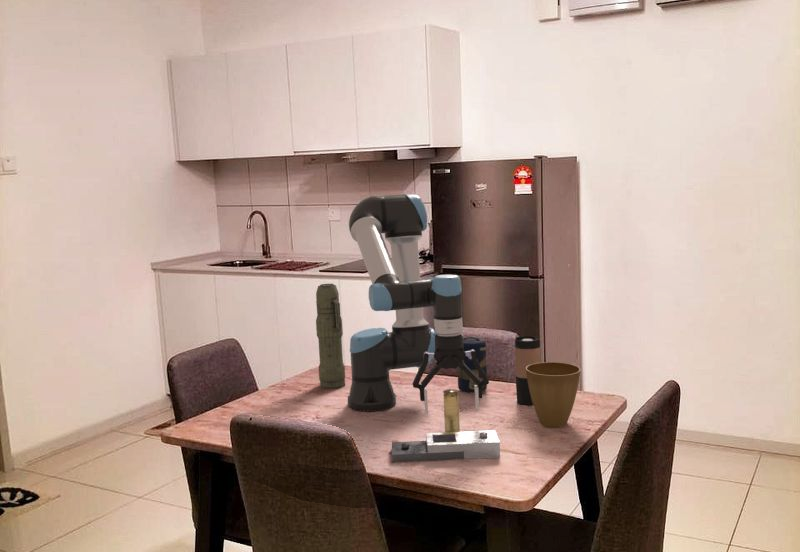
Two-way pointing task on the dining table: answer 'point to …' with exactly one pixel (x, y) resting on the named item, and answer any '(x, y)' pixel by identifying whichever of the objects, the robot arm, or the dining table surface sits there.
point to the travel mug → (525, 365)
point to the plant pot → (553, 391)
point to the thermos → (329, 337)
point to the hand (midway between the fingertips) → (451, 411)
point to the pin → (451, 410)
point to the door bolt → (448, 447)
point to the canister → (472, 364)
